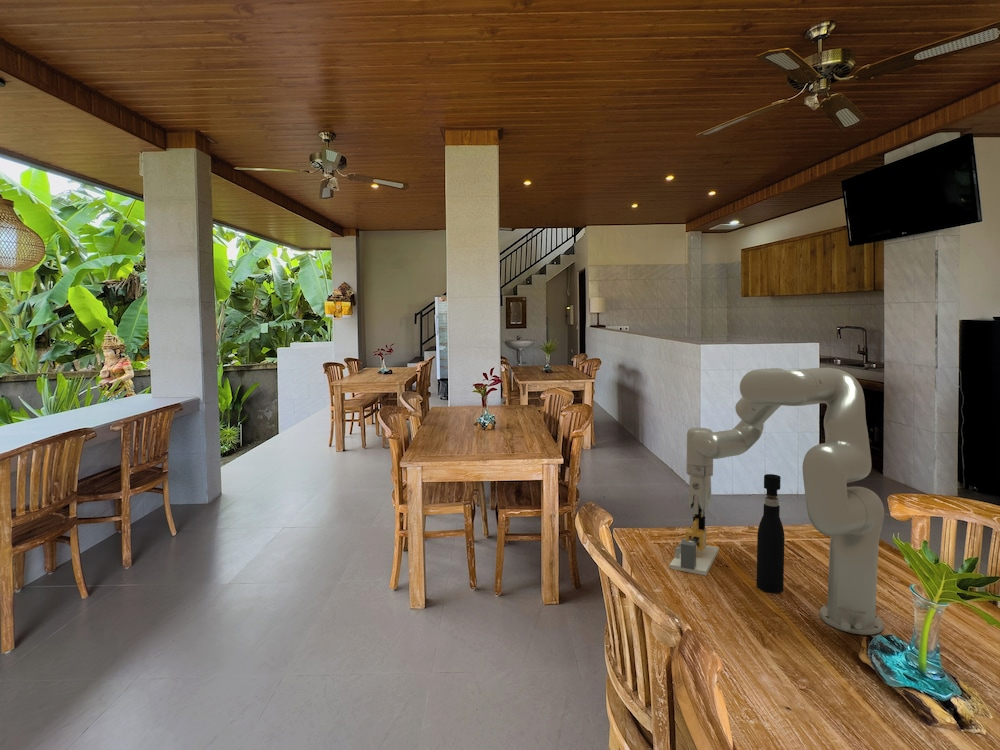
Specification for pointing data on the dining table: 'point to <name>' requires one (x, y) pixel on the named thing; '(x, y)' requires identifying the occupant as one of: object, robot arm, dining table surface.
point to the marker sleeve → (696, 535)
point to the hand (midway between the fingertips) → (699, 528)
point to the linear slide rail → (693, 557)
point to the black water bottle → (770, 541)
